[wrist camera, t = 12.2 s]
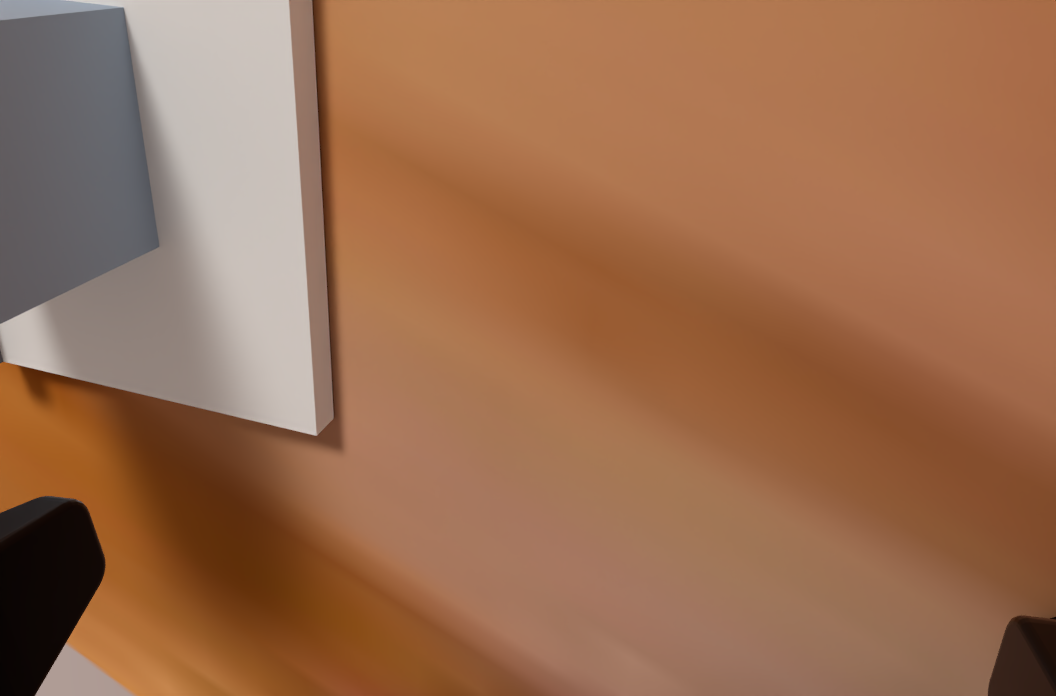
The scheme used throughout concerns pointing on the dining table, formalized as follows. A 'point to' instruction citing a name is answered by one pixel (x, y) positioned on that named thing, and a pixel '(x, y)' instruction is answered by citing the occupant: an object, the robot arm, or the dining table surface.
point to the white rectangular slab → (212, 226)
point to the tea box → (68, 151)
